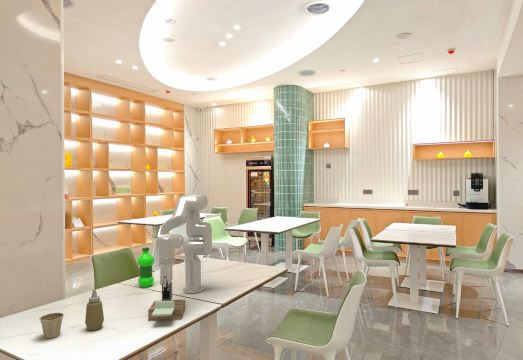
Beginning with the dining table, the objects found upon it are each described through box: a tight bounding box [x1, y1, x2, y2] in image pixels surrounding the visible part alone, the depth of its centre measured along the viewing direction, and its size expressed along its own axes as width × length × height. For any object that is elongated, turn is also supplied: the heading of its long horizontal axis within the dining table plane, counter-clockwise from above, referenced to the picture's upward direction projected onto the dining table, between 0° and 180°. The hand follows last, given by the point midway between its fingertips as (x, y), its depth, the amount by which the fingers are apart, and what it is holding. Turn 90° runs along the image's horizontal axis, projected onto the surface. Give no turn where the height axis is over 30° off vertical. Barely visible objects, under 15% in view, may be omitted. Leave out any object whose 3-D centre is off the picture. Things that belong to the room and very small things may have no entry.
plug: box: [161, 281, 173, 301], centre depth 179 cm, size 4×4×8 cm
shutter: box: [152, 300, 174, 316], centre depth 169 cm, size 9×9×4 cm
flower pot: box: [39, 312, 65, 339], centre depth 156 cm, size 9×9×9 cm
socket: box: [147, 299, 186, 322], centre depth 179 cm, size 14×16×5 cm
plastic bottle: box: [136, 246, 155, 288], centre depth 230 cm, size 10×10×25 cm
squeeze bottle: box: [84, 288, 105, 331], centre depth 164 cm, size 8×8×18 cm
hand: (167, 296), depth 179 cm, fingers closed on plug, 4 cm apart
